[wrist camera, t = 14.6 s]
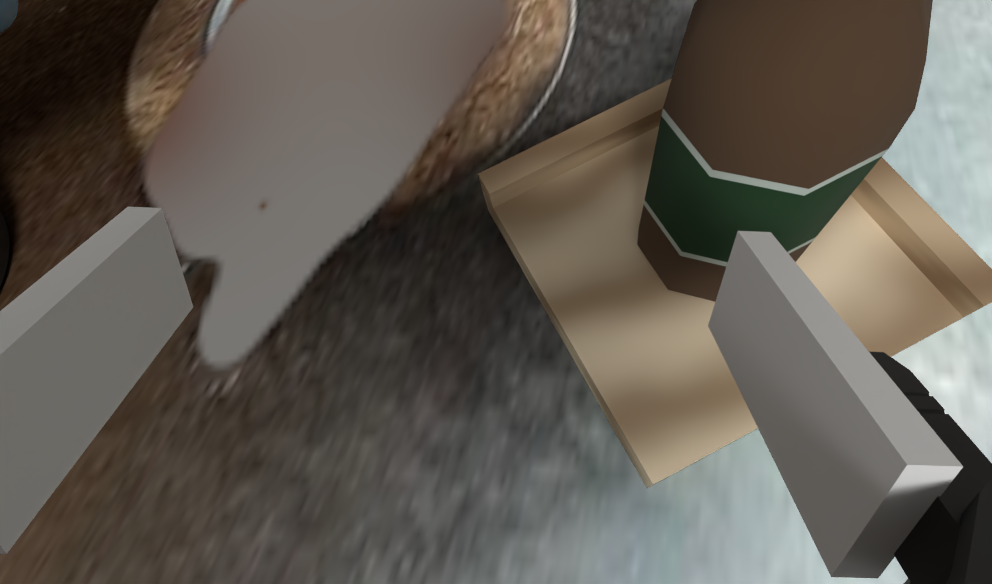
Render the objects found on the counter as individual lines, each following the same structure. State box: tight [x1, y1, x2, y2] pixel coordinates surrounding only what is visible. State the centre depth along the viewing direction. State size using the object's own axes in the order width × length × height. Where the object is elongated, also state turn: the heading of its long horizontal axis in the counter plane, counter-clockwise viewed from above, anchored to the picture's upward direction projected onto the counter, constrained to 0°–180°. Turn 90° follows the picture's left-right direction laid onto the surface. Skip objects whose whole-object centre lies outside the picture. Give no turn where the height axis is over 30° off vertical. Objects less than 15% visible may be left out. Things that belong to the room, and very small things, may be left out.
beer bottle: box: [637, 0, 933, 302], centre depth 19 cm, size 8×8×24 cm
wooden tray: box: [478, 78, 992, 488], centre depth 30 cm, size 18×18×4 cm
